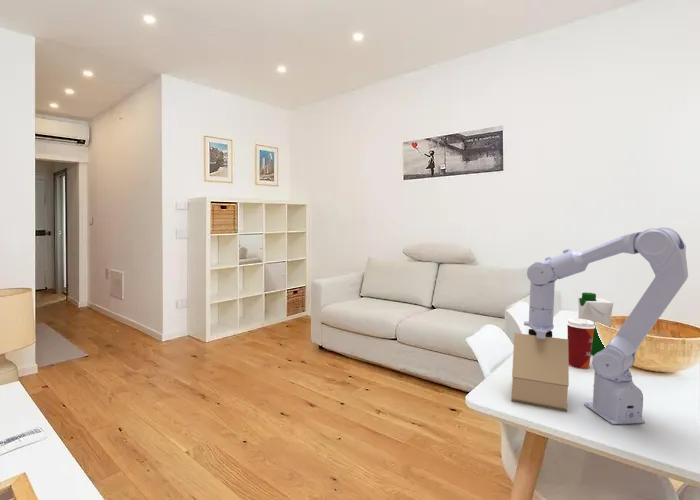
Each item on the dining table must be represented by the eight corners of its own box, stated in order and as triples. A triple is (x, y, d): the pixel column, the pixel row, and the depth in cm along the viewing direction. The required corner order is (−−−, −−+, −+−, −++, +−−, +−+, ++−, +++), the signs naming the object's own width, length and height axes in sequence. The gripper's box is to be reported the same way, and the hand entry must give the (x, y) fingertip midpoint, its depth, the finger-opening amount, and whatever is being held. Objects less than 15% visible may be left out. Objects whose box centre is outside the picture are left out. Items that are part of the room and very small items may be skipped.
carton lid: (514, 333, 101) (514, 333, 101) (568, 340, 96) (568, 339, 96) (512, 377, 96) (512, 376, 96) (568, 386, 91) (568, 385, 91)
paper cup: (597, 371, 116) (600, 325, 114) (569, 369, 117) (571, 323, 116) (587, 361, 123) (589, 318, 122) (560, 359, 125) (562, 317, 124)
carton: (513, 383, 107) (514, 362, 106) (563, 392, 102) (564, 369, 101) (511, 400, 97) (512, 377, 96) (566, 411, 92) (567, 386, 91)
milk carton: (573, 346, 137) (576, 290, 136) (600, 348, 136) (604, 291, 134) (583, 355, 129) (587, 296, 127) (613, 357, 127) (617, 297, 125)
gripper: (525, 300, 110) (523, 347, 111) (524, 311, 97) (521, 364, 98) (553, 302, 107) (550, 351, 108) (556, 314, 94) (553, 369, 95)
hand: (539, 357), depth 103 cm, fingers closed
